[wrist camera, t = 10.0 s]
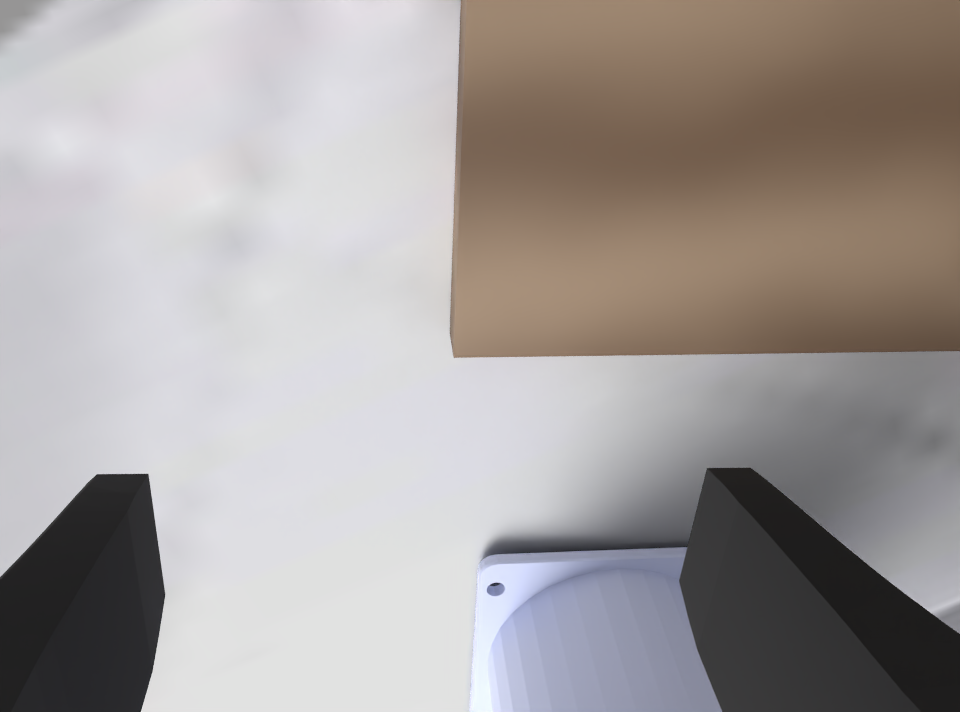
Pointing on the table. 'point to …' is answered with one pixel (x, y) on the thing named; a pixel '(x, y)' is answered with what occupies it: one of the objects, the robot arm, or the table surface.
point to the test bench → (706, 177)
